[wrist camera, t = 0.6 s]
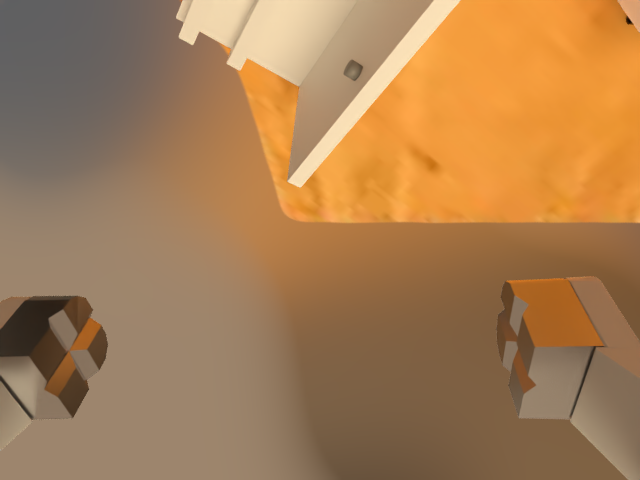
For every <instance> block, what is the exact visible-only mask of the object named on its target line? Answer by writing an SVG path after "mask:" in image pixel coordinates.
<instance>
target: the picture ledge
mask: <svg viewBox="0 0 640 480" xmlns="http://www.w3.org/2000/svg"><path fill="white" fill-rule="evenodd" d="M459 1H460V0H183V1H182V3H181V6H180V8H179V11H178V14H177V16H176V18H177V19H179V20H180V21H182V22H184V25H183V27H182V30H181V32H180V34H179V38H180V39H182V40H184V41H186V42H188V43H190V44H191V45H193V44H194V42H195V40H196V37H197V35H198V33H199V31H200V32H202V33H204V34H205V35H207V36H209V37H211V38H213V39H214V40H216V41H218V42H220V43H222V44H223V45H225V46H227V47H229V48H230V49H231V51H230V54H229V57H228V61H227V64H228V65H230V66H232V67H234V68H236V69H237V70H239V71H240V70H241V68H242V66H243V65H244V63H245V61H246V59H247V58H248V59H250V60H252V61H254V62H255V63H257V64H259V65H261V66H263V67H264V68H266V69H268V70H270V71H272V72H273V73H275V74H277V75H279V76H281V77H282V78H284V79H286V80H288V81H289V82H291V83H293V84H295V85H297V86H298V87H299V94H298V102H297V109H296V117H295V125H294V133H293V141H292V148H291V156H290V164H289V172H288V180H287V182H289V183H291V184H293V185H295V186H298V187H300V188H301V187H302V185H303V184H304V183H305V182H306V181H307V179H308V178H309V177H310V176H311V175H312V174H313V172H314V171H315V170H316V169H317V168H318V167H319V165H320V164H321V163H322V162H323V161H324V160H325V158H326V157H327V156H328V155H329V154H330V153H331V151H332V150H333V149H334V148H335V147H336V146H337V144H338V143H339V142H340V141H341V140H342V138H343V137H344V136H345V135H346V134H347V133H348V131H349V130H350V129H351V128H352V127H353V126H354V124H355V123H356V122H357V121H358V120H359V119H360V117H361V116H362V115H363V114H364V113H365V112H366V110H367V109H368V108H369V107H370V106H371V105H372V103H373V102H374V101H375V100H376V99H377V97H378V96H379V95H380V94H381V93H382V92H383V90H384V89H385V88H386V87H387V86H388V85H389V83H390V82H391V81H392V80H393V79H394V78H395V76H396V75H397V74H398V73H399V72H400V71H401V69H402V68H403V67H404V66H405V65H406V64H407V62H408V61H409V60H410V59H411V58H412V56H413V55H414V54H415V53H416V52H417V51H418V49H419V48H420V47H421V46H422V45H423V44H424V42H425V41H426V40H427V39H428V38H429V37H430V35H431V34H432V33H433V32H434V31H435V30H436V28H437V27H438V26H439V25H440V24H441V23H442V21H443V20H444V19H445V18H446V17H447V15H448V14H449V13H450V12H451V11H452V10H453V8H454V7H455V6H456V5H457V4H458V3H459Z"/></svg>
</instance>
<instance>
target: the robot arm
mask: <svg viewBox="0 0 640 480" xmlns="http://www.w3.org/2000/svg"><path fill="white" fill-rule="evenodd" d="M501 300H502V302H503V306H504V310H503V311H502V312H501V313H499V314H498V319H497V327H496V330H497V345H498V351H499V355H500V359H501V362H502V365H503V366H504V367H505V368H507V369H508V370H509V371H510V372H511V374H510V380H509V385H508V386H509V389H510V392H511V395H512V398H513V402H514V405H515V408H516V411H517V415H518V418H539V419H540V418H541V419H571V423H572V424H573V425H574V426H575V427H576V428H577V429H578V430H579V431H580V432H581V433H582V434H583V435H584V436H585V437H586V438H587V439H588V440H589V441H590V442H591V443H592V444H593V445H594V446H595V447H596V448H597V449H598V450H599V451H600V452H601V453H602V454H603V455H604V456H605V457H606V458H607V459H608V460H609V461H610V462H611V463H612V464H613V465H614V466H615V467H616V468H617V469H618V470H619V471H620V472H621V473H622V474H623V475H624V476H625V477H626V478H627V479H628V480H640V342H639V340H638V339H637V337H636V336H635V334H634V332H633V331H632V329H631V328H630V326H629V324H628V323H627V321H626V320H625V318H624V317H623V315H622V313H621V312H620V311H619V309H618V307H617V306H616V304H615V303H614V301H613V299H612V298H611V296H610V295H609V293H608V292H607V290H606V288H605V287H604V285H603V284H602V282H601V281H600V280H599V279H598V278H596V277H595V276H591V277H572V278H564V279H561V278H560V279H536V280H512V281H505V282H504V284H503V287H502V292H501ZM92 311H93V309H92V308H91V306H90V304H89V302H88V301H87V299H86V298H84V297H80V296H33V297H10V298H8V299H5V300H3V301H1V302H0V450H2V449H3V448H4V447H5V446H6V445H7V444H8V443H9V442H11V441H12V440H13V439H14V438H15V437H16V436H17V435H18V434H19V433H21V432H22V431H23V430H24V429H25V428H26V427H27V426H28V425H29V424H30V423H32V420H33V419H65V418H66V419H67V418H73V417H74V415H75V414H76V412H77V410H78V408H79V406H80V405H81V403H82V401H83V399H84V397H85V396H86V394H87V392H88V390H89V387H88V383H87V380H88V379H89V378H90V377H92V376H93V375H94V374H95V373H97V372H98V371H99V370H100V368H101V366H102V364H103V363H104V361H105V359H106V353H107V347H108V342H107V337H106V333H105V331H104V330H103V327H102V326H101V325H100V324H99V323H97V322H96V321H94V320H93V319H91V318H90V317H91V314H92Z"/></svg>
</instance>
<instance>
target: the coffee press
mask: <svg viewBox="0 0 640 480" xmlns="http://www.w3.org/2000/svg"><path fill="white" fill-rule="evenodd" d="M618 2H619V4H620V6H621V7H622V9H623V10H624V12H625V13H626V14H627V19H626V22H627V24H631V25H634V26H635V27H636V28H637V30H638V31H639V33H640V0H618Z"/></svg>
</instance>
